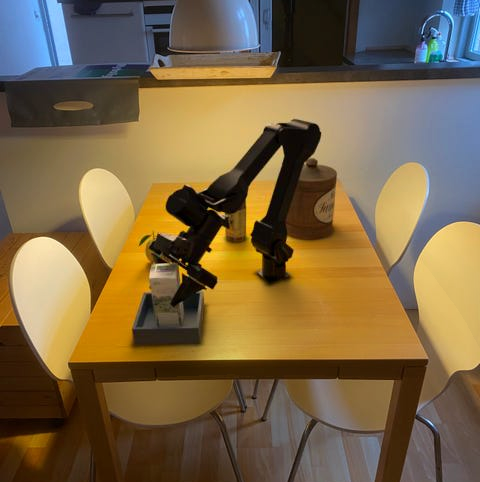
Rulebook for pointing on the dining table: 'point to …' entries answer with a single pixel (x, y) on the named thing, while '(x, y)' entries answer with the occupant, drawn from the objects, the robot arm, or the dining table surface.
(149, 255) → the lemon
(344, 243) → the dining table surface
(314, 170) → the wooden container
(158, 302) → the syrup box
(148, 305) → the bin
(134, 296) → the dining table surface
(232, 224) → the sauce bottle
